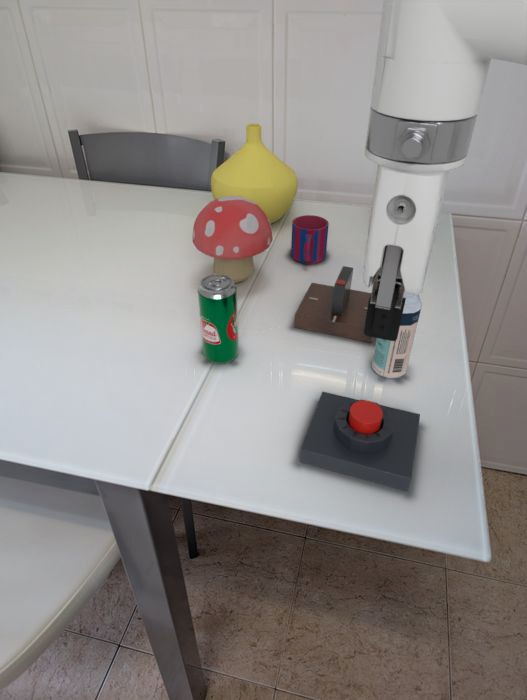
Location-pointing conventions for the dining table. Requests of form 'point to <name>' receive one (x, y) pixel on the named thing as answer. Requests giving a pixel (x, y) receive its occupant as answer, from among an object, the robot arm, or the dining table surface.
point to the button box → (362, 443)
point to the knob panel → (320, 319)
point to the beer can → (398, 342)
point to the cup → (309, 239)
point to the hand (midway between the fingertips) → (380, 333)
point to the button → (365, 417)
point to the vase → (256, 177)
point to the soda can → (218, 318)
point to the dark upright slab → (342, 290)
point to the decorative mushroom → (232, 235)
